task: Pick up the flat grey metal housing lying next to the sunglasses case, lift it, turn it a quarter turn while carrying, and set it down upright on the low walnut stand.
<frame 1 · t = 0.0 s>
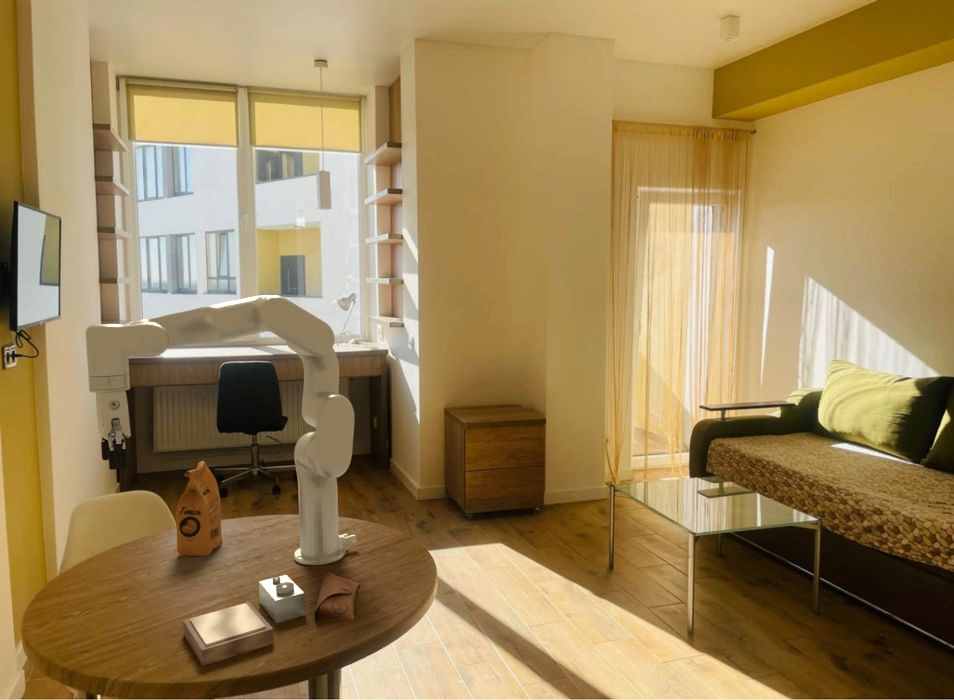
hand: (114, 463, 145), 31 cm above the table, tool pointing down, fingers open, 9 cm apart
sunglasses case: (338, 604, 149), on the table
housing: (281, 609, 146), on the table
stand: (228, 639, 133), on the table
coffee package: (200, 549, 180), on the table
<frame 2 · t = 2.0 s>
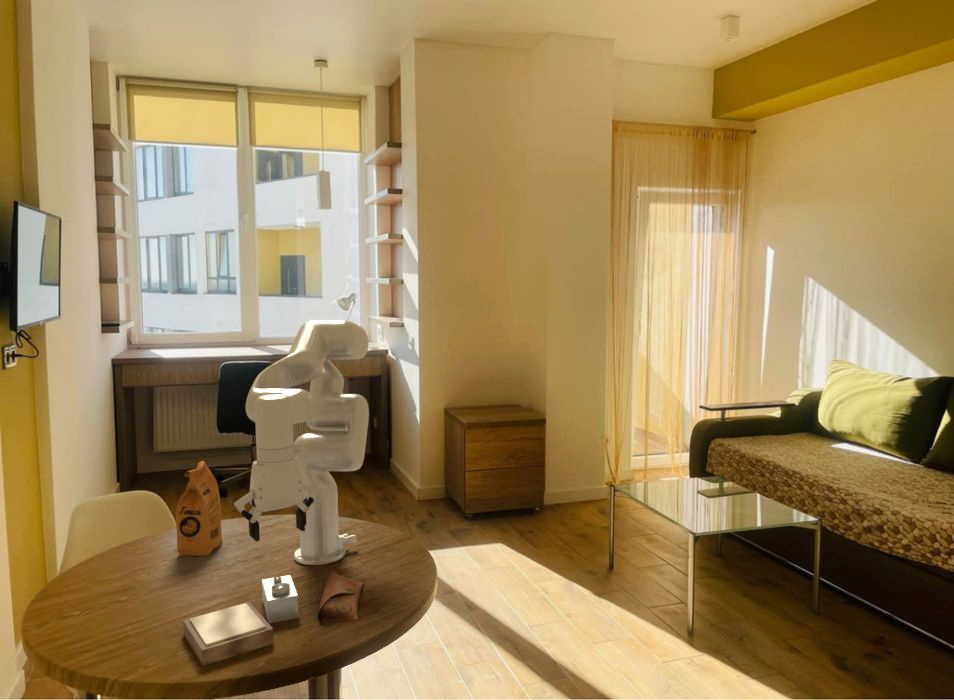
hand: (278, 534, 144), 16 cm above the table, tool pointing down, fingers open, 9 cm apart
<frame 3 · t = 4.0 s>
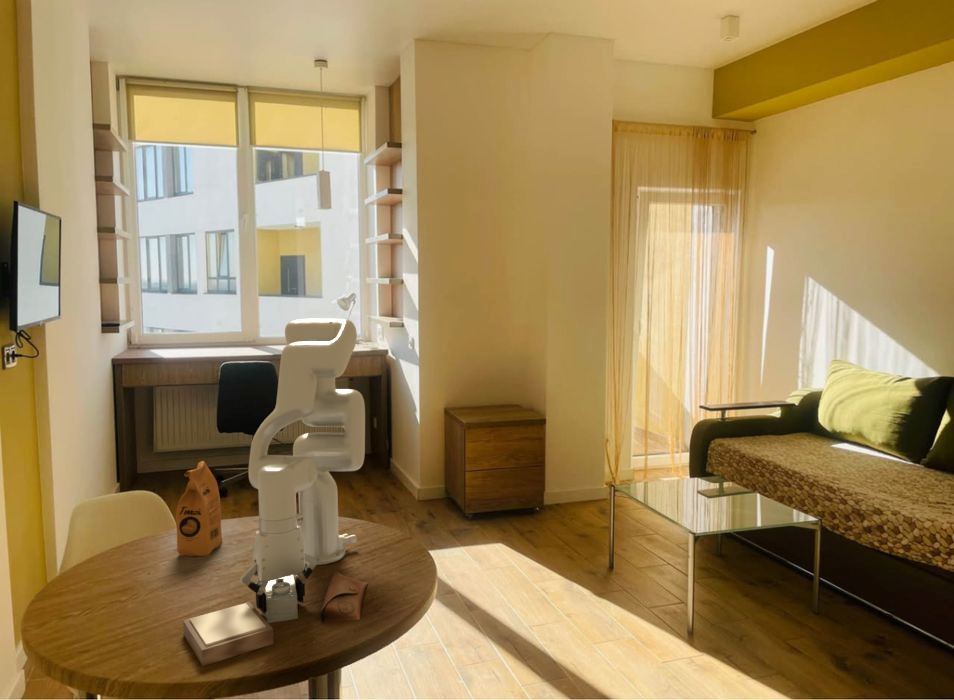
hand: (281, 604, 145), 1 cm above the table, tool pointing down, fingers closed on housing, 7 cm apart
housing: (281, 609, 146), on the table, touching gripper
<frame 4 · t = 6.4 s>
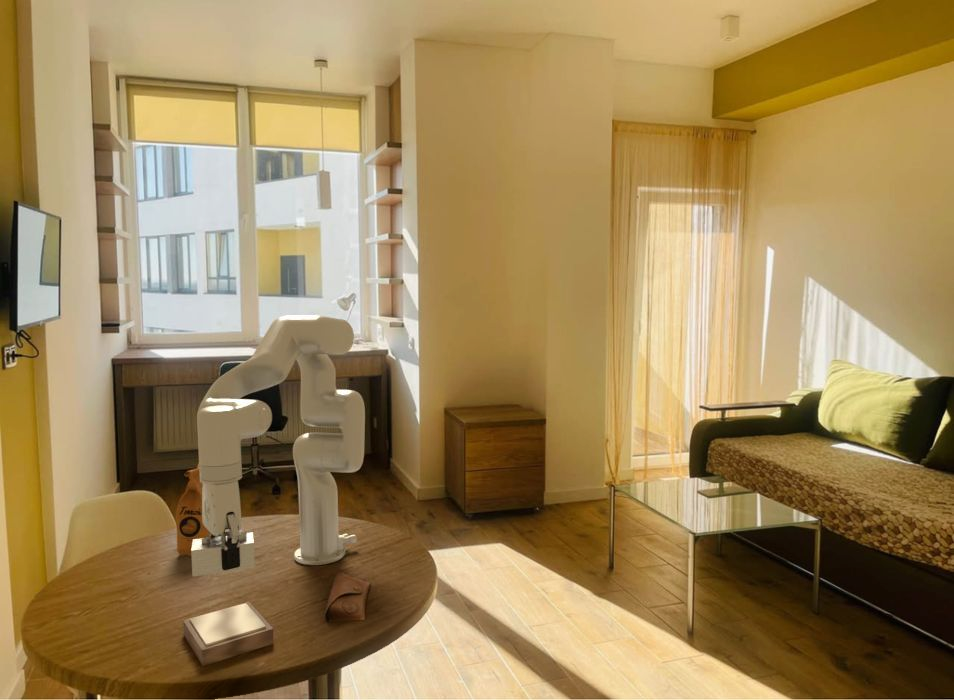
hand: (224, 561, 132), 16 cm above the table, tool pointing down, fingers closed on housing, 7 cm apart
housing: (224, 566, 132), point 15 cm above the table, touching gripper
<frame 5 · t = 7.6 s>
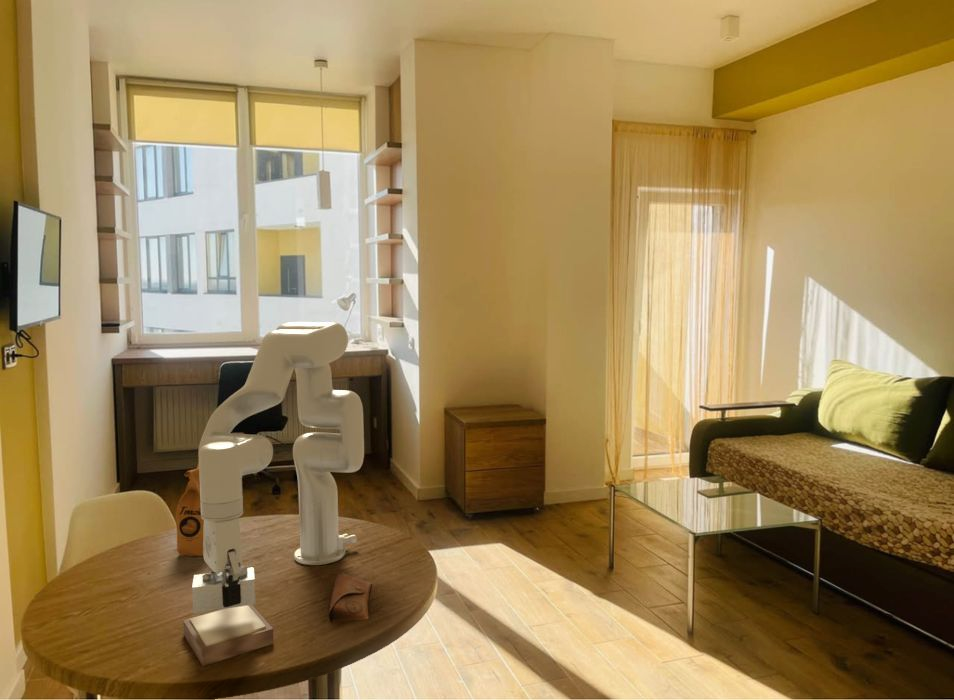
hand: (225, 596, 132), 9 cm above the table, tool pointing down, fingers closed on housing, 7 cm apart
housing: (224, 602, 132), point 8 cm above the table, touching gripper
when the fingers open (5 cm above the table, at t = 8.8 s): housing stays where it is, resting on stand.
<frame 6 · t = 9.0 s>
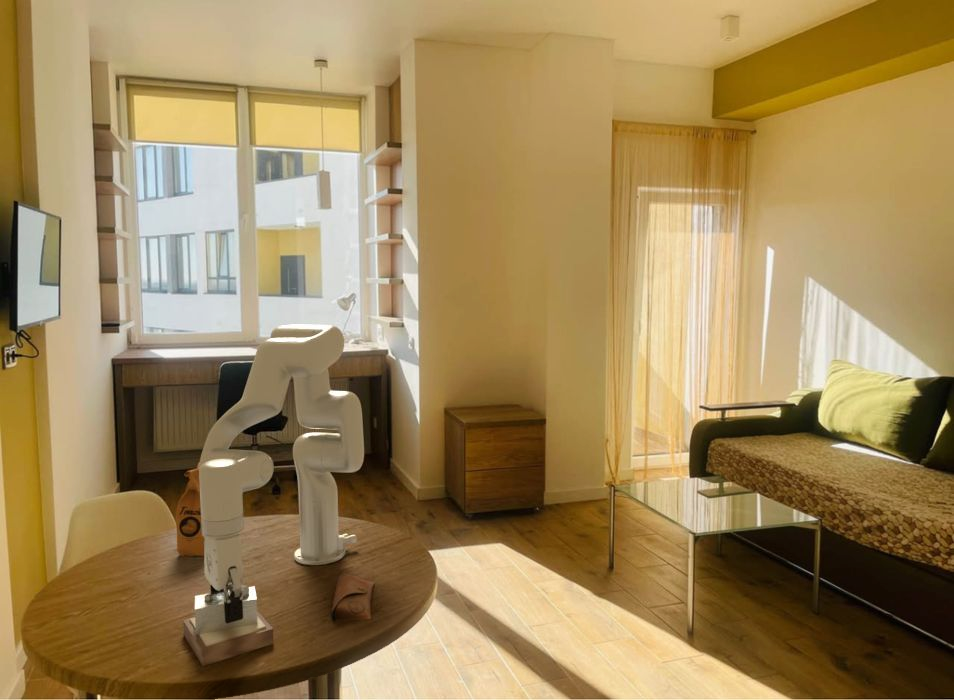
hand: (226, 611, 133), 6 cm above the table, tool pointing down, fingers open, 8 cm apart
housing: (226, 622, 133), point 3 cm above the table, touching stand
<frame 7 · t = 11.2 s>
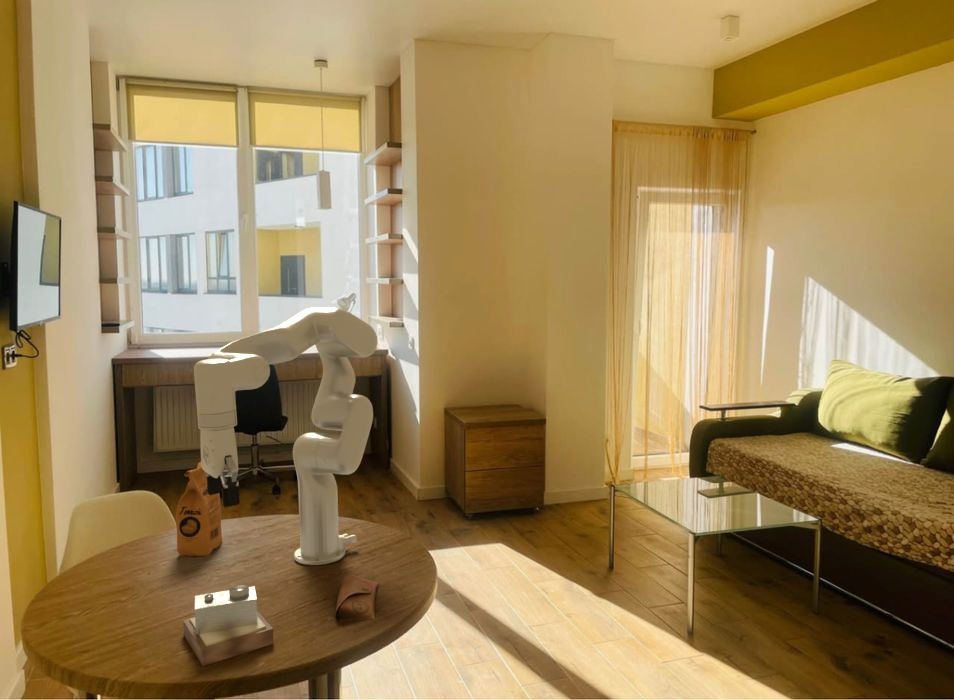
hand: (223, 499, 143), 24 cm above the table, tool pointing down, fingers open, 9 cm apart
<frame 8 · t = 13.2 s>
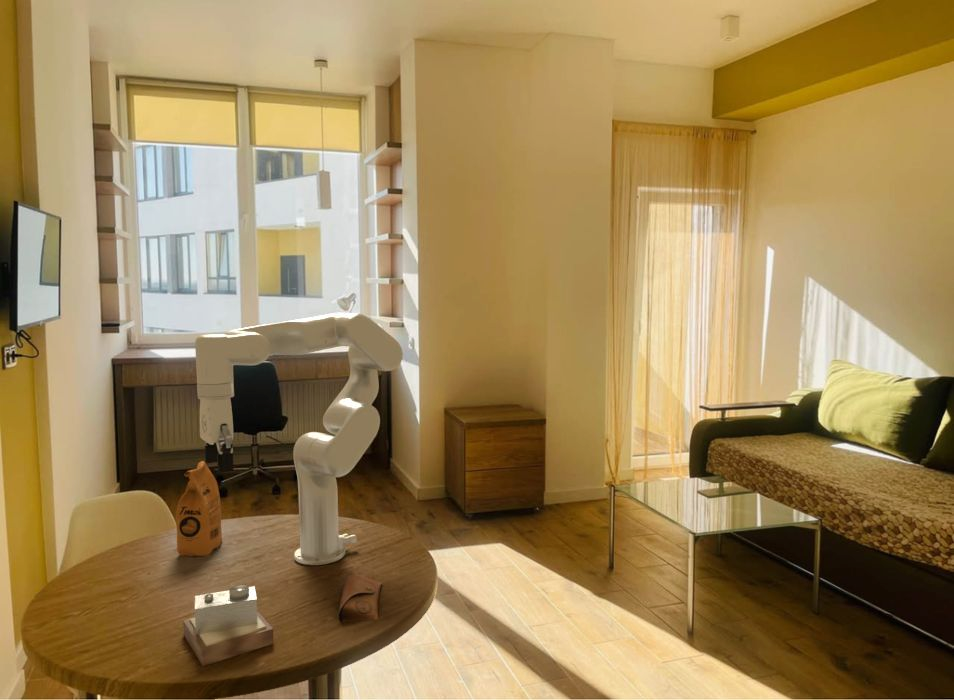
hand: (219, 466, 153), 28 cm above the table, tool pointing down, fingers open, 9 cm apart
at the end: housing inside the target area on the stand (0.2 cm from its centre), point 3.4 cm above the stand's base; housing tilted 0°; the gripper is holding nothing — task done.
